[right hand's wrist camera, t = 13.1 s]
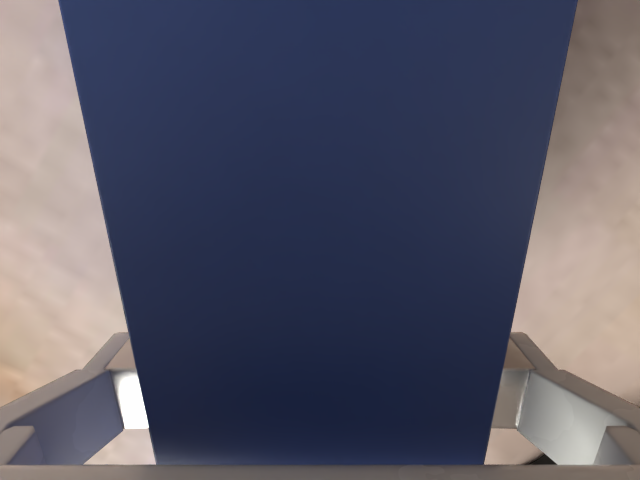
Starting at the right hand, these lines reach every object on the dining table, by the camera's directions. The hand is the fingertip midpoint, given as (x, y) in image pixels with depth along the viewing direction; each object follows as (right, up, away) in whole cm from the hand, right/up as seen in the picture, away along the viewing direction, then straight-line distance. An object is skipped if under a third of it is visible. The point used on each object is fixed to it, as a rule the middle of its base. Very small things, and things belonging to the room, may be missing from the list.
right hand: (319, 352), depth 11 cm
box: (0, +11, +5) cm, 12 cm away
